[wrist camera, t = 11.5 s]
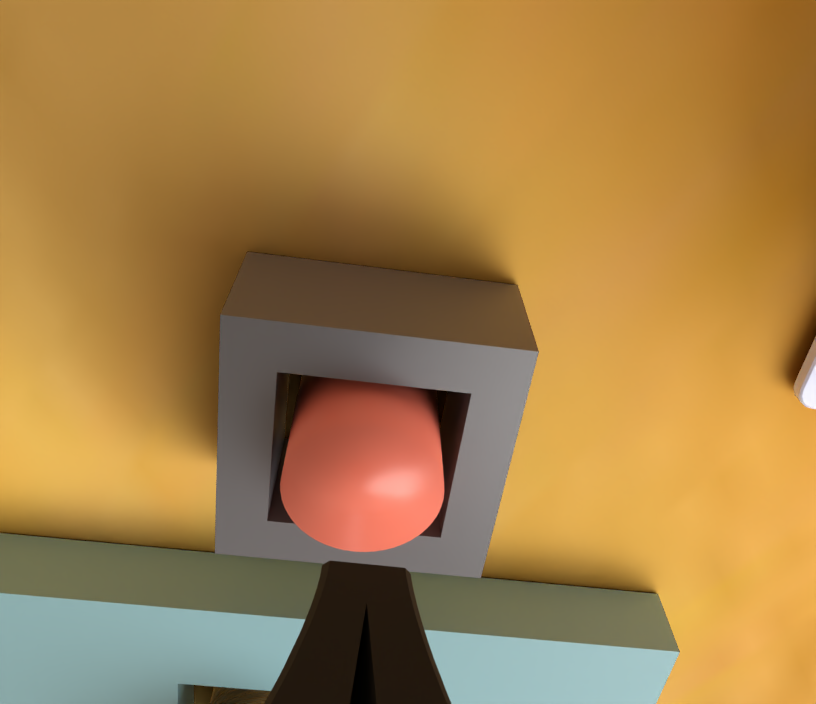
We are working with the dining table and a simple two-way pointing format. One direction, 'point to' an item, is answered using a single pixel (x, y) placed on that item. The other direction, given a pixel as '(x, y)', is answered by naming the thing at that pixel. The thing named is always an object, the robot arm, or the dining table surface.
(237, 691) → the cylinder
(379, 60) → the dining table surface
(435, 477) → the button
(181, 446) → the dining table surface
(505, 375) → the button housing
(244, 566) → the plate
